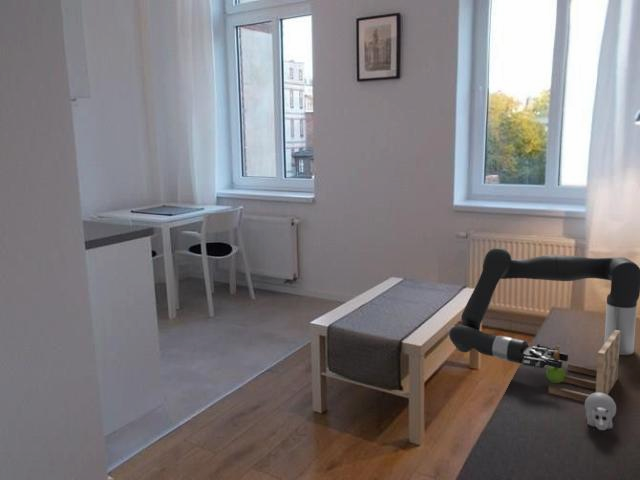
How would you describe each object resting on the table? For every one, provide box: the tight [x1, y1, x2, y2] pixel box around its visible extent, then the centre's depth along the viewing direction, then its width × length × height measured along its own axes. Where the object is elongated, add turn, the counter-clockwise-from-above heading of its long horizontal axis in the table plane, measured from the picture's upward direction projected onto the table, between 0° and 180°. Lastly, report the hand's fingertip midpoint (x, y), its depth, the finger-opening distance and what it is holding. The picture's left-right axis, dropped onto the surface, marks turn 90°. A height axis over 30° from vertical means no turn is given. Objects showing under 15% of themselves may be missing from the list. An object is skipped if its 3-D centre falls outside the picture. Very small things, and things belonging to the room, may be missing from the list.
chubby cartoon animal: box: [584, 391, 617, 431], centre depth 145 cm, size 8×12×9 cm, turn 153°
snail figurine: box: [545, 340, 566, 384], centre depth 169 cm, size 5×6×12 cm
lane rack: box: [548, 330, 620, 403], centre depth 168 cm, size 22×14×16 cm, turn 141°
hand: (564, 361), depth 167 cm, fingers closed on snail figurine, 5 cm apart
